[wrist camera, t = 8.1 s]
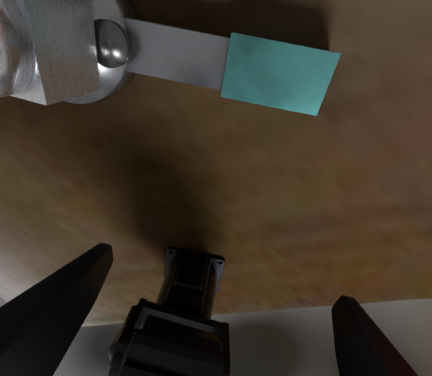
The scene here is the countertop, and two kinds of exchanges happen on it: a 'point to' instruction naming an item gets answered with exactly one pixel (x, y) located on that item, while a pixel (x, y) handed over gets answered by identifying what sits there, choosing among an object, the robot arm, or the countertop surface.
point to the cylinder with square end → (47, 50)
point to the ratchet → (207, 61)
